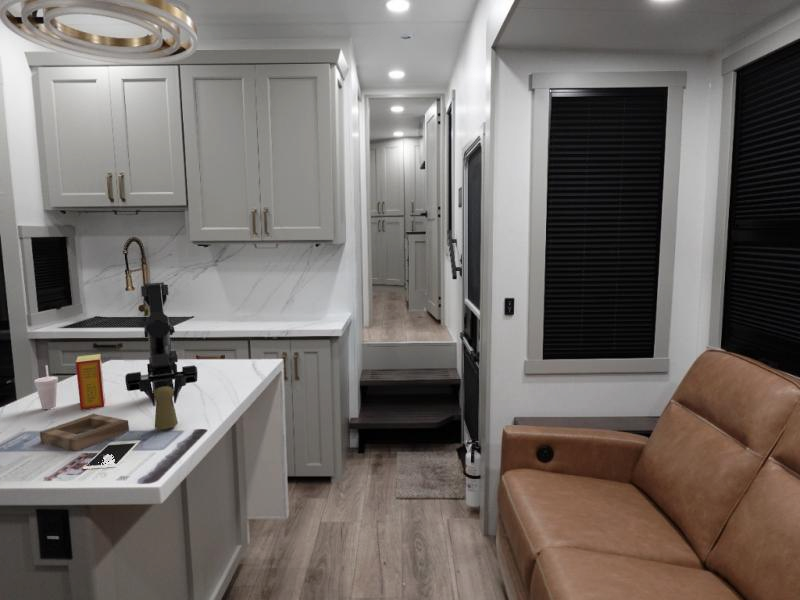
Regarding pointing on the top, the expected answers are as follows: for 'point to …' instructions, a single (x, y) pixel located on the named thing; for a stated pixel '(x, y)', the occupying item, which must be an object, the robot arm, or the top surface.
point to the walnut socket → (70, 440)
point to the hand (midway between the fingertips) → (164, 403)
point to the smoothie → (47, 390)
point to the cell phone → (113, 453)
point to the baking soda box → (90, 381)
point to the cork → (164, 408)
